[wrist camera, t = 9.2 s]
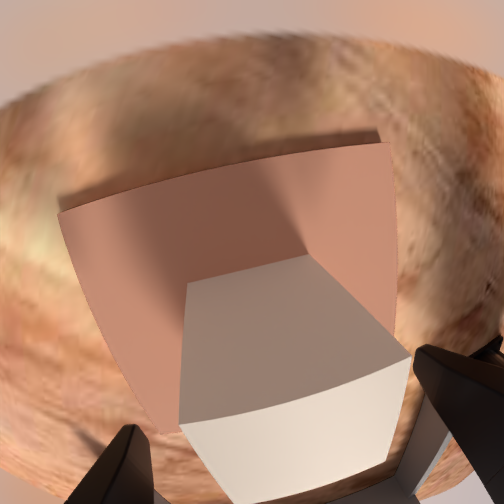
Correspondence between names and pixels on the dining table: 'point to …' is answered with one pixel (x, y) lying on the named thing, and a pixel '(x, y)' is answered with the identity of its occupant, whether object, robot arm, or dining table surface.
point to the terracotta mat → (228, 249)
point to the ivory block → (286, 380)
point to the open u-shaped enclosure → (402, 464)
